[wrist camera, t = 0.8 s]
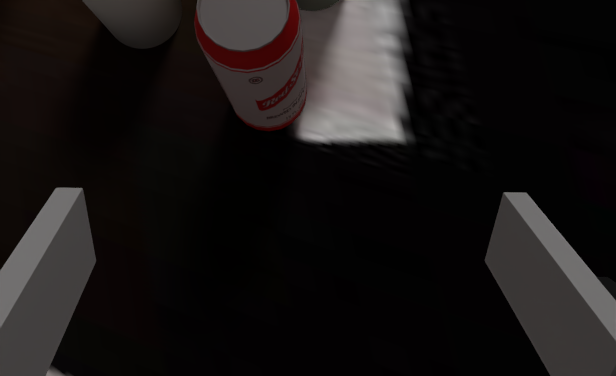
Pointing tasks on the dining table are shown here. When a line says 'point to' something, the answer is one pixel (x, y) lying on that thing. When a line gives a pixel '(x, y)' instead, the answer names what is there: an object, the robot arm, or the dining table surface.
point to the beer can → (256, 57)
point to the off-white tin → (138, 20)
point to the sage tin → (315, 4)
